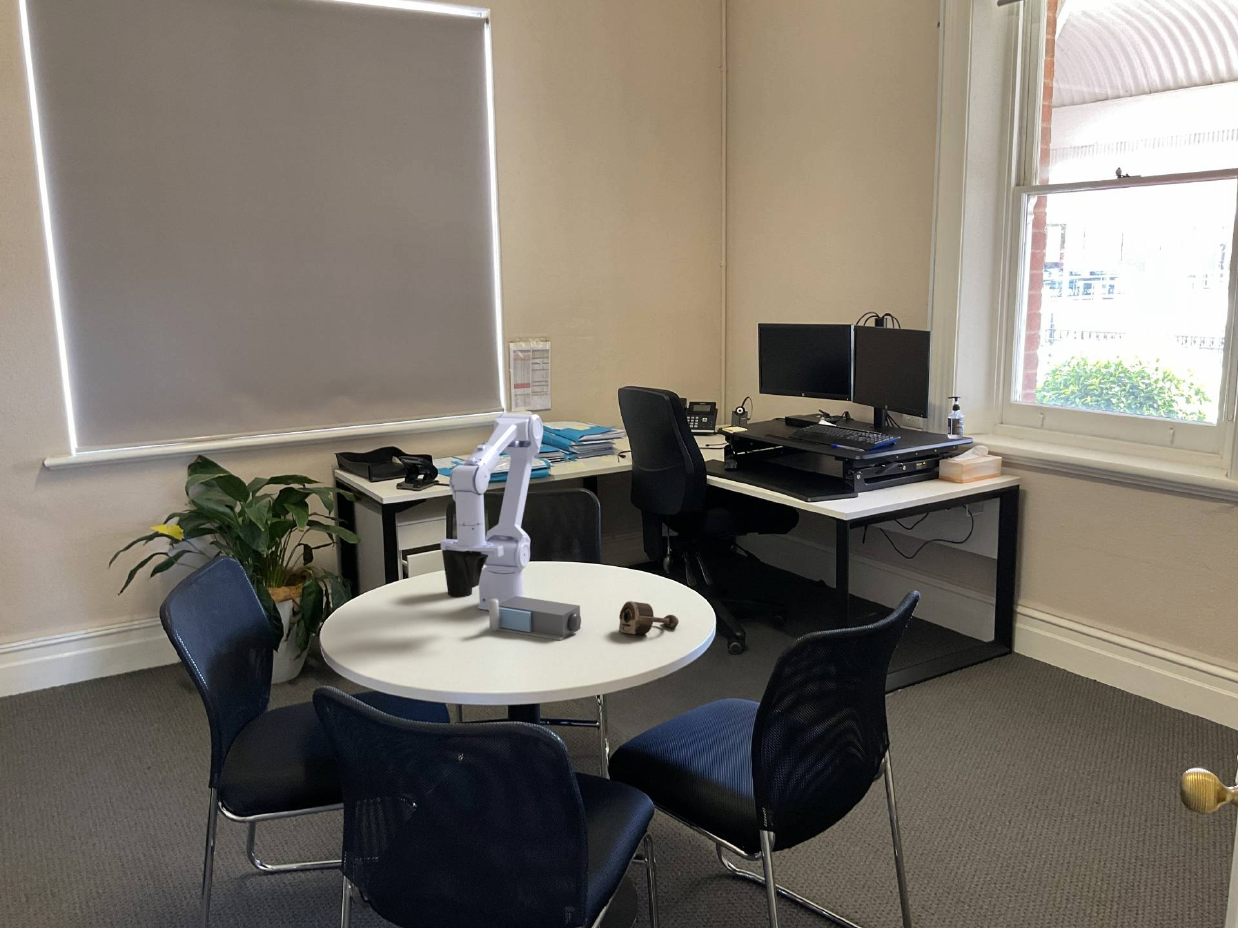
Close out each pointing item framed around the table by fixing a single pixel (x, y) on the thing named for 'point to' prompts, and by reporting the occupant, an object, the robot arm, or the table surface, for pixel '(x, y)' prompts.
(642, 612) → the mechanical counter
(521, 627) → the door
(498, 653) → the table surface
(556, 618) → the housing
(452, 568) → the cup
